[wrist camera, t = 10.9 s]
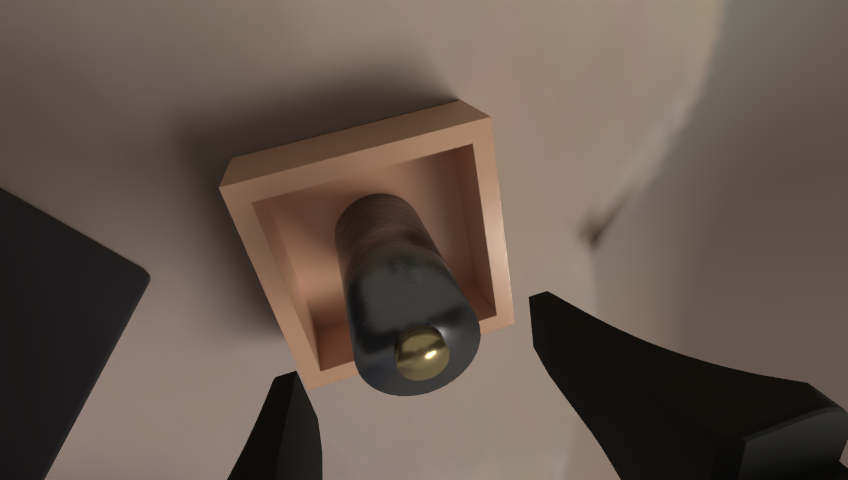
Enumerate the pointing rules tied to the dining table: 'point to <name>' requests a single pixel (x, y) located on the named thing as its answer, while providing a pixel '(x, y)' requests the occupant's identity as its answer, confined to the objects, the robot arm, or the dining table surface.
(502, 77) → the dining table surface
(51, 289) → the black box
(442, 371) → the pepper mill
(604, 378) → the robot arm
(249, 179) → the tray
